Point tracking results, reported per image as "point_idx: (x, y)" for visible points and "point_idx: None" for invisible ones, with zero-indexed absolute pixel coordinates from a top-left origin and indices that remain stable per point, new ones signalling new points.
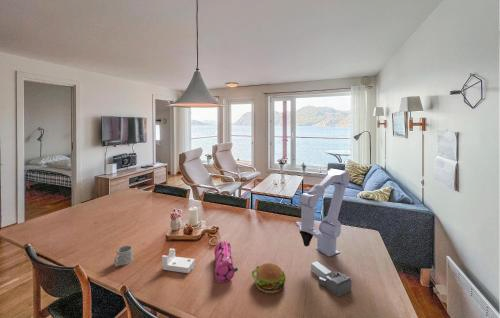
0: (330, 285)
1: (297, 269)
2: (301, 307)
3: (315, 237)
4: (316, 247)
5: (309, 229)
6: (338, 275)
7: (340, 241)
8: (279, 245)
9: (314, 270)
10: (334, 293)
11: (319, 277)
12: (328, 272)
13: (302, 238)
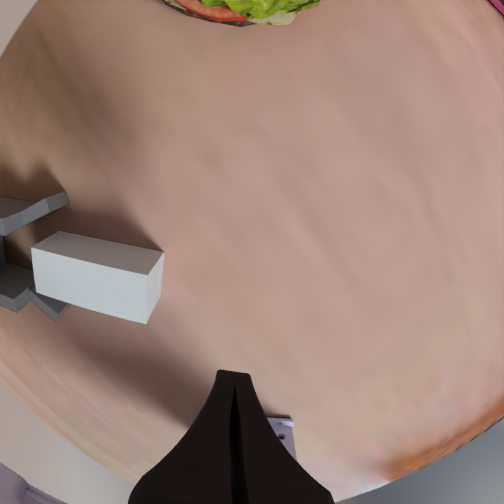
0: (2, 206)
1: (228, 192)
2: (42, 17)
3: (6, 469)
4: (290, 423)
5: None
6: (12, 290)
7: None
8: (454, 303)
9: (126, 254)
10: (3, 198)
11: (48, 206)
12: (36, 274)
13: (270, 432)
